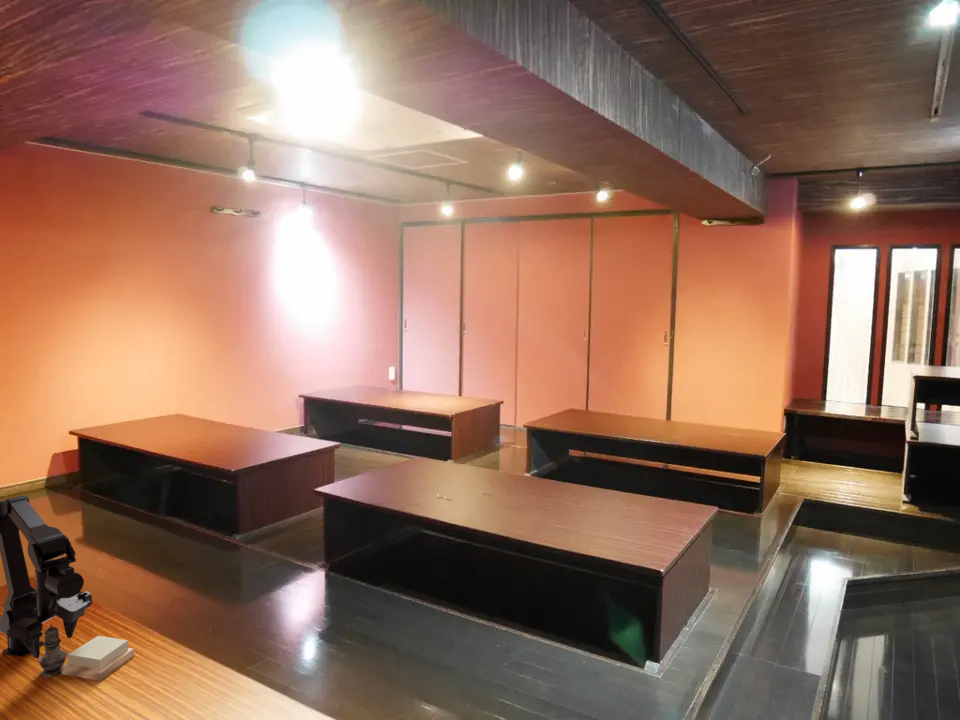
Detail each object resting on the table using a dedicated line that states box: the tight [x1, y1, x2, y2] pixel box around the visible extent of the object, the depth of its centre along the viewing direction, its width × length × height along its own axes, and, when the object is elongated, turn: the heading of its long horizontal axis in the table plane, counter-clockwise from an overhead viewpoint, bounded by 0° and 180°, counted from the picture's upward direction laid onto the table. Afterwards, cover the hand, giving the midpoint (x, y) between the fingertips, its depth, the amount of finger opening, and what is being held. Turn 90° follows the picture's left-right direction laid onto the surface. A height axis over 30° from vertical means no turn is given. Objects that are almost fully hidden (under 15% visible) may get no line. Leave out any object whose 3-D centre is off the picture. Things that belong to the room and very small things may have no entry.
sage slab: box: [68, 635, 129, 670], centre depth 159 cm, size 9×9×2 cm
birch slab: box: [61, 647, 135, 682], centre depth 159 cm, size 11×11×2 cm
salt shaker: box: [37, 624, 68, 678], centre depth 155 cm, size 6×6×12 cm
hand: (53, 647), depth 155 cm, fingers open, 9 cm apart
